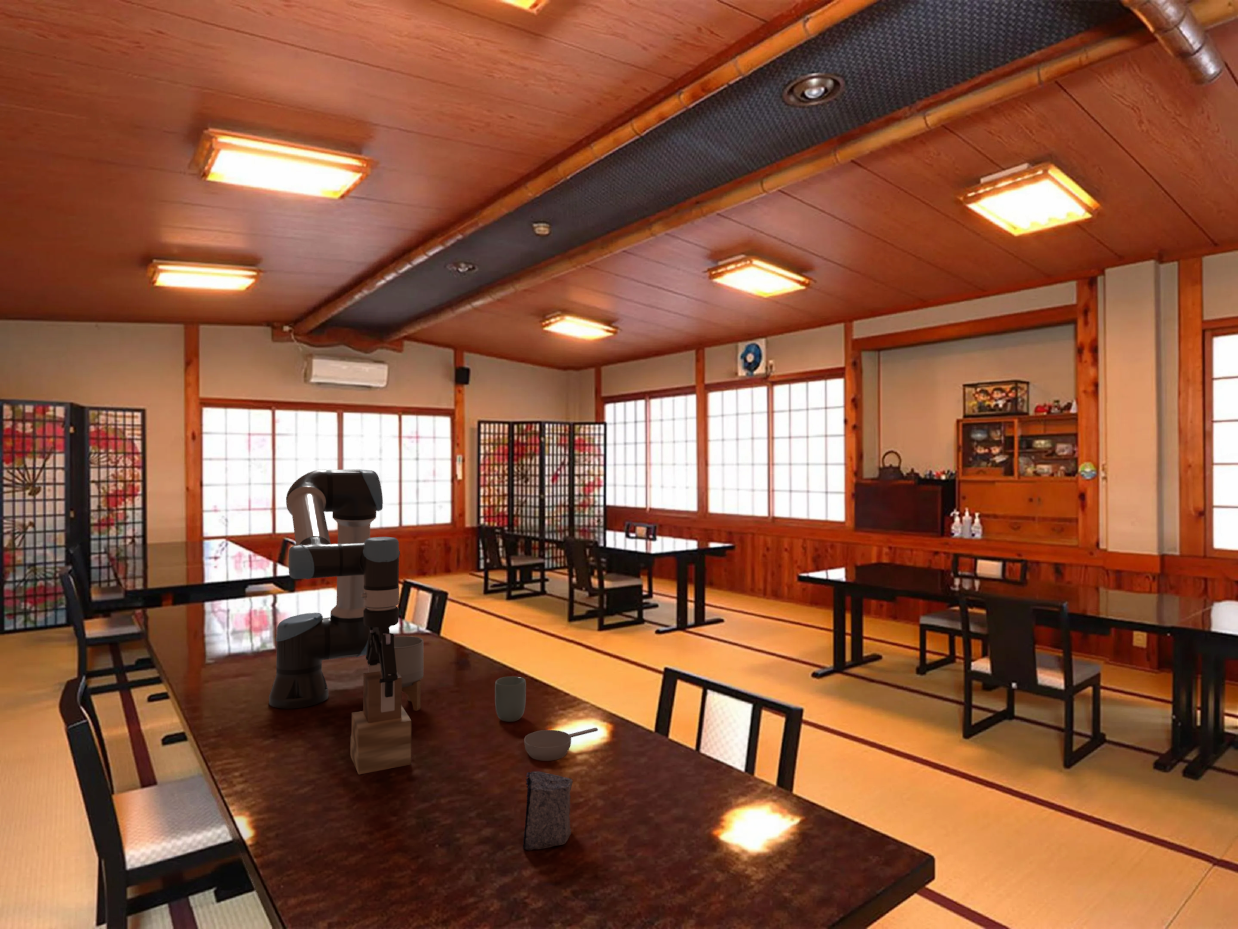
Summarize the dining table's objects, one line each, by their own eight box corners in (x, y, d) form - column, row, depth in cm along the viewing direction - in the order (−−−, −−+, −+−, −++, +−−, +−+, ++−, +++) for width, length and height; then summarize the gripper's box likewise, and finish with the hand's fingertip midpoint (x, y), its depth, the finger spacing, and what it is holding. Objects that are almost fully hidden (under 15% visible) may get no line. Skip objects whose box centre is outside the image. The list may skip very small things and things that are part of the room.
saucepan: (517, 749, 168) (517, 733, 168) (587, 736, 177) (587, 720, 177) (534, 767, 159) (534, 749, 159) (607, 752, 167) (607, 735, 167)
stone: (510, 860, 124) (516, 815, 134) (566, 868, 125) (569, 823, 135) (522, 804, 121) (528, 763, 130) (580, 814, 122) (582, 771, 131)
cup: (519, 725, 183) (519, 686, 183) (490, 723, 185) (490, 684, 185) (529, 715, 191) (529, 677, 191) (501, 713, 192) (501, 675, 192)
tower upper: (351, 734, 164) (351, 712, 164) (401, 726, 169) (401, 705, 169) (358, 752, 154) (358, 728, 154) (411, 743, 159) (411, 720, 159)
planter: (432, 702, 201) (432, 638, 201) (404, 717, 188) (404, 649, 188) (393, 697, 205) (393, 634, 205) (362, 712, 193) (363, 645, 193)
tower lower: (350, 757, 164) (350, 735, 164) (400, 748, 169) (400, 726, 169) (358, 775, 154) (358, 752, 154) (410, 765, 159) (411, 742, 159)
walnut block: (363, 713, 163) (363, 673, 163) (395, 708, 167) (395, 669, 167) (368, 723, 157) (368, 681, 157) (401, 718, 161) (401, 677, 161)
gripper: (353, 599, 171) (352, 689, 171) (375, 619, 149) (375, 722, 149) (385, 596, 174) (385, 684, 174) (412, 615, 153) (412, 716, 153)
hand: (380, 702), depth 162 cm, fingers open, 13 cm apart
